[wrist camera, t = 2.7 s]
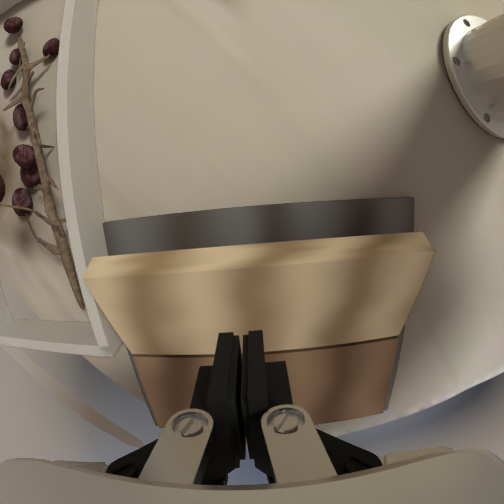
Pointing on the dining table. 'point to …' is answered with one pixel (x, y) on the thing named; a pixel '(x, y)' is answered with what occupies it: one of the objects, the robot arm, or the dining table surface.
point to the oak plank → (262, 292)
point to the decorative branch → (34, 153)
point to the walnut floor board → (261, 231)
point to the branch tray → (73, 192)
